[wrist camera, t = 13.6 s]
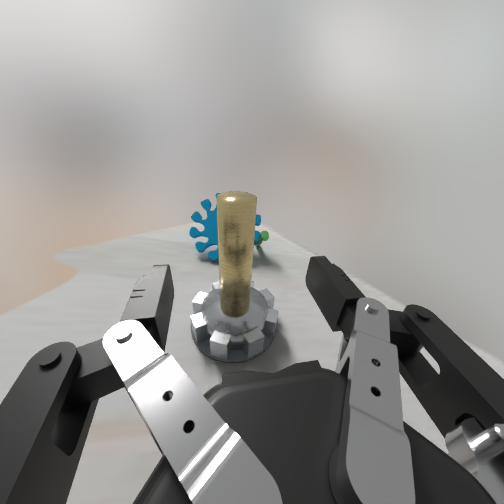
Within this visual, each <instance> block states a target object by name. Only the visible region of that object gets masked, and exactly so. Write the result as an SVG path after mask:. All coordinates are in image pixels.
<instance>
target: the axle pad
mask: <svg viewBox="0 0 504 504" xmlns="http://www.w3.org/2000/svg"><path fill="white" fill-rule="evenodd" d="M275 331H276V328H275ZM191 333H192V337H193V340H194V342H195V344H196V345H197V347H198V348H199V349H200V350H201V351H202V352H203V353H204V354H206V355H207V356H209V357H211V358H213V359H216V360H218V361H223V362H242V361H246V360H250V359H252V358H254V357H256V356H258V355H260V354H261V353H262V352H264V351H265V350H266V349H267V348H268V347H269V345H270V344H271V342H272V340H273V338H274V337H273V338H272V337H268V336H264V344H263V351H262V352H260V353H258V354H256V355H254V356H252V357H250V358H247V356H246V355H245V353H244V351H243V349H241V350H231V352H230V355H229V357H228V360H224V359H221V358H217V357H214V356H211V351H210V341H209V340H208V339H207V340H205V341H203V342H200V343H198V344H197V342H196V339H195V336H194V334H193V331H192V325H191ZM274 335H275V332H274Z"/></svg>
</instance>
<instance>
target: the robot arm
mask: <svg viewBox="0 0 504 504" xmlns="http://www.w3.org/2000/svg"><path fill="white" fill-rule="evenodd" d="M306 285H307V288H308V290H309V291H310V293H311V295H312V296H313V298H314V300H315V302H316V303H317V305H318V307H319V308H320V310H321V312H322V314H323V315H324V317H325V319H326V321H327V322H328V324H329V326H330V327H331V329H332V331H333V332H335V331H342V332H343V336H342V339H341V344H340V350H339V355H338V361H337V366H336V370H335V372H334V371H332V370H329V369H325V368H321V366H320V364H319V362H318V360H315V361H309V362H302V363H296V364H293V365H291V366H289V367H287V368H285V369H283V370H281V371H278V372H276V373H263V372H255V371H242V372H235V373H228V374H222V377H223V382H222V383H220V384H218V385H216V386H214V387H213V388H211V389H210V390H209V391H207V392H206V393H205V394H204V395H202V393H201V392H200V391H199V390H198V388H197V387H196V386H195V385H194V383H193V382H192V381H191V380H190V379H189V377H188V376H187V375H186V374H185V372H184V371H183V370H182V369H181V367H180V366H179V365H178V364H177V362H176V361H175V360H174V359H173V357H172V356H171V355H170V354H168V353H167V354H164V353H163V352H164V351H165V345H166V339H167V334H168V328H169V322H170V316H171V311H172V305H173V299H174V286H173V281H172V276H171V270H170V266H169V265H154V266H153V268H152V271H151V274H150V275H146V276H142V277H141V278H140V279H139V280H138V281H137V282H136V284H135V286H134V288H133V292H132V293H131V296H130V298H129V301H128V303H127V306H126V308H125V310H124V313H123V315H122V318H121V320H120V323H119V324H116V325H115V326H113V327H112V328H111V329H109V330H108V331H107V333H106V334H105V336H104V338H102V339H100V340H98V341H95V342H92V343H89V344H87V345H84V346H81V347H78V348H76V347H75V345H74V344H73V343H70V342H59V343H55V344H52V345H50V346H48V347H46V348H44V349H42V350H41V351H39V352H38V353H36V354H35V355H34V356H33V357H32V358H31V359H30V360H29V361H28V363H27V364H26V366H25V367H24V369H23V370H22V372H21V374H20V375H19V377H18V378H17V380H16V381H15V383H14V384H13V386H12V388H11V389H10V391H9V392H8V394H7V395H6V397H5V398H4V400H3V402H2V403H1V405H0V504H66V502H67V498H68V495H69V492H70V489H71V486H72V482H73V479H74V476H75V473H76V470H77V467H78V463H79V460H80V457H81V454H82V451H83V448H84V444H85V441H86V438H87V435H88V432H89V428H90V425H91V422H92V419H93V416H94V413H95V409H96V406H97V403H98V400H99V398H101V397H103V396H105V395H108V394H110V393H112V392H114V391H116V390H119V389H121V388H123V387H125V389H126V391H127V392H128V394H129V396H130V398H131V400H132V401H133V403H134V405H135V407H136V409H137V410H138V412H139V414H140V416H141V418H142V419H143V421H144V423H145V425H146V427H147V429H148V431H149V432H150V434H151V436H152V438H153V440H154V442H155V443H156V445H157V447H158V449H159V451H160V452H161V454H162V458H161V460H160V461H159V463H158V464H157V466H156V467H155V469H154V471H153V472H152V474H151V475H150V477H149V478H148V480H147V482H146V483H145V485H144V486H143V488H142V490H141V491H140V493H139V494H138V496H137V497H136V499H135V501H134V502H133V504H504V379H503V378H502V377H501V376H500V375H499V374H498V373H496V372H495V371H494V370H493V369H492V368H491V367H490V366H489V365H488V364H487V363H486V362H485V361H484V360H483V359H482V358H481V357H479V356H478V355H477V354H476V353H475V352H474V351H473V350H472V349H471V348H470V347H469V346H468V345H467V344H466V343H465V342H464V341H463V340H461V339H460V338H459V337H458V336H457V335H456V334H455V333H454V332H453V331H452V330H451V329H450V328H449V327H448V326H447V325H445V324H444V323H443V322H442V321H441V320H440V319H439V318H438V317H437V316H436V315H435V314H434V313H433V312H431V311H430V310H428V309H426V308H424V307H421V306H418V305H408V306H406V308H405V309H404V311H403V312H401V311H394V310H388V309H387V308H386V307H385V306H384V305H383V304H382V303H381V302H379V301H377V300H375V299H372V298H367V297H365V296H364V295H363V293H362V292H361V291H360V290H359V289H358V288H357V286H356V285H355V284H354V283H353V282H352V281H351V280H350V278H349V277H348V276H346V274H345V273H344V271H343V270H342V269H341V268H339V267H338V266H336V265H335V264H331V263H330V261H329V260H328V259H327V258H326V257H325V256H316V257H311V258H310V262H309V266H308V270H307V274H306ZM422 347H424V348H425V349H426V350H427V351H428V352H429V353H430V355H431V356H432V357H433V358H434V359H435V360H436V362H437V363H438V365H439V367H440V374H438V373H437V372H436V371H435V370H434V368H433V367H432V366H431V365H430V364H429V362H428V361H427V360H426V359H425V357H424V356H423V355H422V354H421V353H420V350H421V349H422ZM399 372H400V374H401V375H402V377H403V378H404V380H405V381H406V383H407V384H408V385H409V387H410V388H411V390H412V391H413V393H414V394H415V396H416V397H417V399H418V400H419V402H420V403H421V404H422V406H423V407H424V409H425V410H426V412H427V413H428V415H429V416H430V418H431V419H432V420H433V422H434V423H435V425H436V426H437V428H438V429H439V431H440V432H441V434H442V435H443V436H444V438H445V443H446V447H447V449H448V452H449V453H448V454H446V453H445V452H443V451H442V450H441V449H440V448H438V447H437V446H436V445H434V444H433V443H432V442H430V441H429V440H428V439H426V438H425V437H424V436H422V435H421V434H420V433H418V432H417V431H416V430H414V429H413V428H412V427H411V426H409V425H408V424H407V423H405V422H404V421H403V415H402V402H401V389H400V376H399Z"/></svg>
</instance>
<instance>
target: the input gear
mask: <svg viewBox="0 0 504 504" xmlns="http://www.w3.org/2000/svg"><path fill="white" fill-rule="evenodd" d="M256 204H257V197H256V196H255V195H253V194H250V193H246V192H239V191H231V192H224V193H221V194H219V195H217V221H218V250H219V279H220V281H217V282H214V283H212V288H213V291H211V292H210V293H209V294H207V293H203V292H199V293H198V294H197V296H196V297H195V299H194V300H193V301H192V303H193V311H194V315H192V316H190V318H191V325H192V331H193V334H194V336H195V339H196V342H197V344H198V343H200V342H203V341H205V340H207V339H208V340H209V341H210V351H211V356H214V357H217V358H221V359H224V360H228V357H229V355H230V352H231V350H241V349H243V351H244V353H245V355H246V356H247V358H250V357H252V356H254V355H256V354H258V353H260V352H262V351H263V344H264V336H268V337H272V338H273V337H274V332H275V328H276V323H277V317H278V310H273V305H274V298H275V297H274V296H273V295H272V294H271V293H270V292H269V291H268V289H264V290H261V291H257V290H256V289H254V288H253V283H254V281H251V277H252V263H253V248H254V233H255V218H256Z"/></svg>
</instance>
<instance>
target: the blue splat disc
mask: <svg viewBox="0 0 504 504" xmlns="http://www.w3.org/2000/svg"><path fill="white" fill-rule="evenodd" d="M219 194H221V193H217V194H216V199H217V195H219ZM201 205H202V207H203V208H204V209H205V210H206V211H207V219H206V220H202V216H201V215H200V213H199V212H195V213H194V214H193V215H192V216H191V218H192V220H193V221H194V222H198V223H201V224H203V225H204V226H205V229H204V231H202V232H199V231H198V230H197V229H196V228H195V227H192V228H191V229H190V236H191V237H193V238H197V237H200V236H204V237H207V238H209V240H208V242H207V243H202V242H197V243H196V244H195V246H196V249H197V250H198V252H204V251H205V249H206V248H208V247H209V246H212V245H218V221H217V206H216V208H215V210H213V211H210V208H211V202H210V201H209V200H208V199H207V200H204V201H202V202H201ZM260 223H261V216H260V215H256V218H255V225H256V226H259V225H260ZM268 238H269V234H268V232H267V231H262V232H261V234H260V232H259V231H255V233H254V245H256V246H257V247H259V246H260V244H261V243H262V241H266V240H268ZM208 257H209V258H211V259H212V260H213V261H217V260H218V259H219V250H218V249H217V250H215V251H211V252H209V254H208Z"/></svg>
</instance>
